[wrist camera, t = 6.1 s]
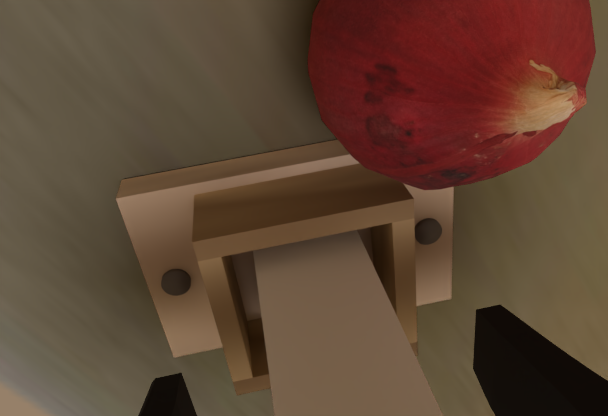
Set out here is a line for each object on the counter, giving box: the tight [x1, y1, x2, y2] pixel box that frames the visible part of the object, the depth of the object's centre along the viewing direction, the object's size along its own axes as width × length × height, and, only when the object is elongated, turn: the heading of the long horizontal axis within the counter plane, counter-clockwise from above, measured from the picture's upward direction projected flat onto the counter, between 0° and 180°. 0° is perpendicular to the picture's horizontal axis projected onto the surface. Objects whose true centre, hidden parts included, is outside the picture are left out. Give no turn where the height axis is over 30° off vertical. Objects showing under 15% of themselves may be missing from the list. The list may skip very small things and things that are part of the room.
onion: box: [308, 0, 596, 190], centre depth 11 cm, size 6×6×8 cm
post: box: [253, 230, 443, 416], centre depth 13 cm, size 3×3×8 cm
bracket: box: [116, 140, 454, 395], centre depth 16 cm, size 6×10×4 cm, turn 97°
